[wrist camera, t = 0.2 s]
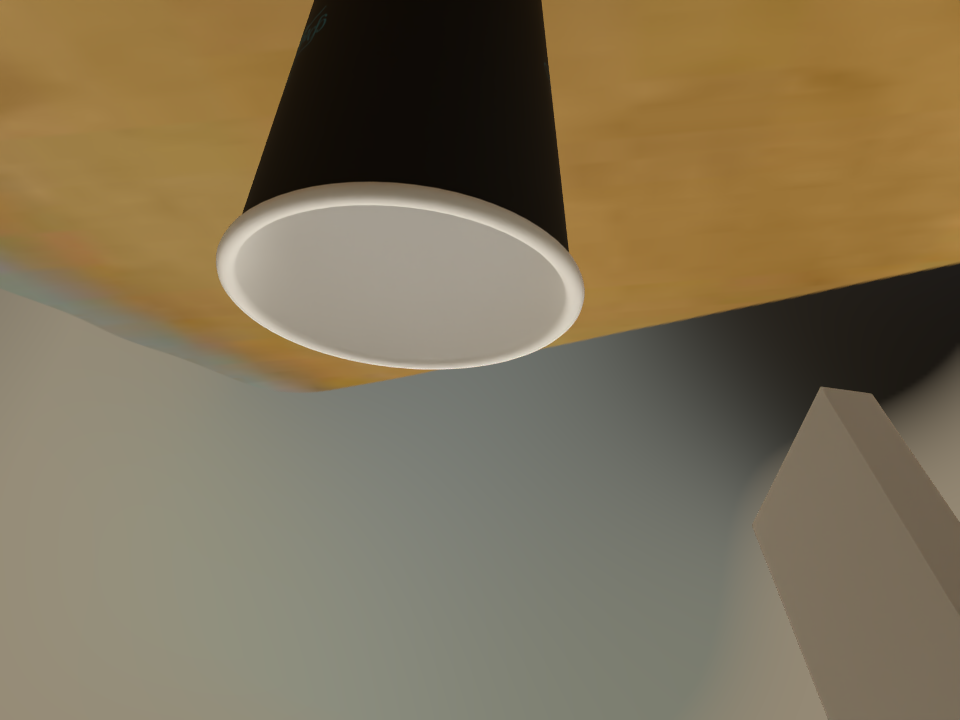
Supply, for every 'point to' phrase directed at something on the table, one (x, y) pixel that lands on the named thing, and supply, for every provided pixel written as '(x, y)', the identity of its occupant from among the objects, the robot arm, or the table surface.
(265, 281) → the dixie cup
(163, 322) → the table surface
